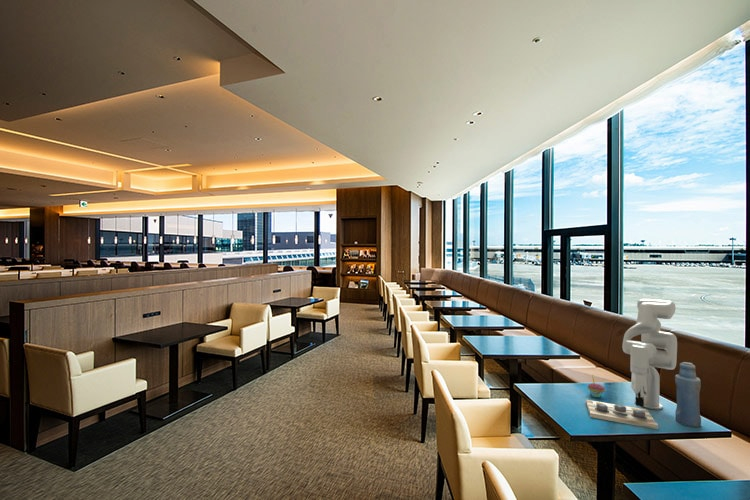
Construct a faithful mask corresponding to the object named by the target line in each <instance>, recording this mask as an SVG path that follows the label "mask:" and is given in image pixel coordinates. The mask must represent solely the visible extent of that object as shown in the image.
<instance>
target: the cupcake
mask: <svg viewBox="0 0 750 500" xmlns="http://www.w3.org/2000/svg"><path fill="white" fill-rule="evenodd" d="M587 388H588V390H589V391H590V395H591V397H595V398H601V396H602V395H603V393H605V391H606V389H605V387H604V386H603V385H601V384H600V383H596V382H595V377H594V375H593V374H592V383H588V385H587Z"/></svg>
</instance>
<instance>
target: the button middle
mask: <svg viewBox="0 0 750 500" xmlns="http://www.w3.org/2000/svg"><path fill="white" fill-rule="evenodd" d="M625 406H626V405H622V404H616V405H614V409H615V410H616V411H618V412H626V407H625Z"/></svg>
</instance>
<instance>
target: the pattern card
mask: <svg viewBox="0 0 750 500" xmlns="http://www.w3.org/2000/svg"><path fill="white" fill-rule="evenodd" d="M596 401H597V400H592V402H593V404H594V405H596V404H604V405H607V406H608V407H610V408H614V404H615V403H610V404H608V403H609V402H604V403H602V402H603V401H602V402H601V401H598V402H596ZM624 406H625V407H626V406H627V405H624ZM632 407H633V406H628V407H626V410H628V411H633V410H641V409H642V408H640V409H638V407H634V408H632ZM641 411H642V410H641Z"/></svg>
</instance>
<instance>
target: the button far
mask: <svg viewBox="0 0 750 500" xmlns="http://www.w3.org/2000/svg"><path fill="white" fill-rule="evenodd" d="M596 408H597V409H598V410H600V411H608V406H607V405H604V404H596Z"/></svg>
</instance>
